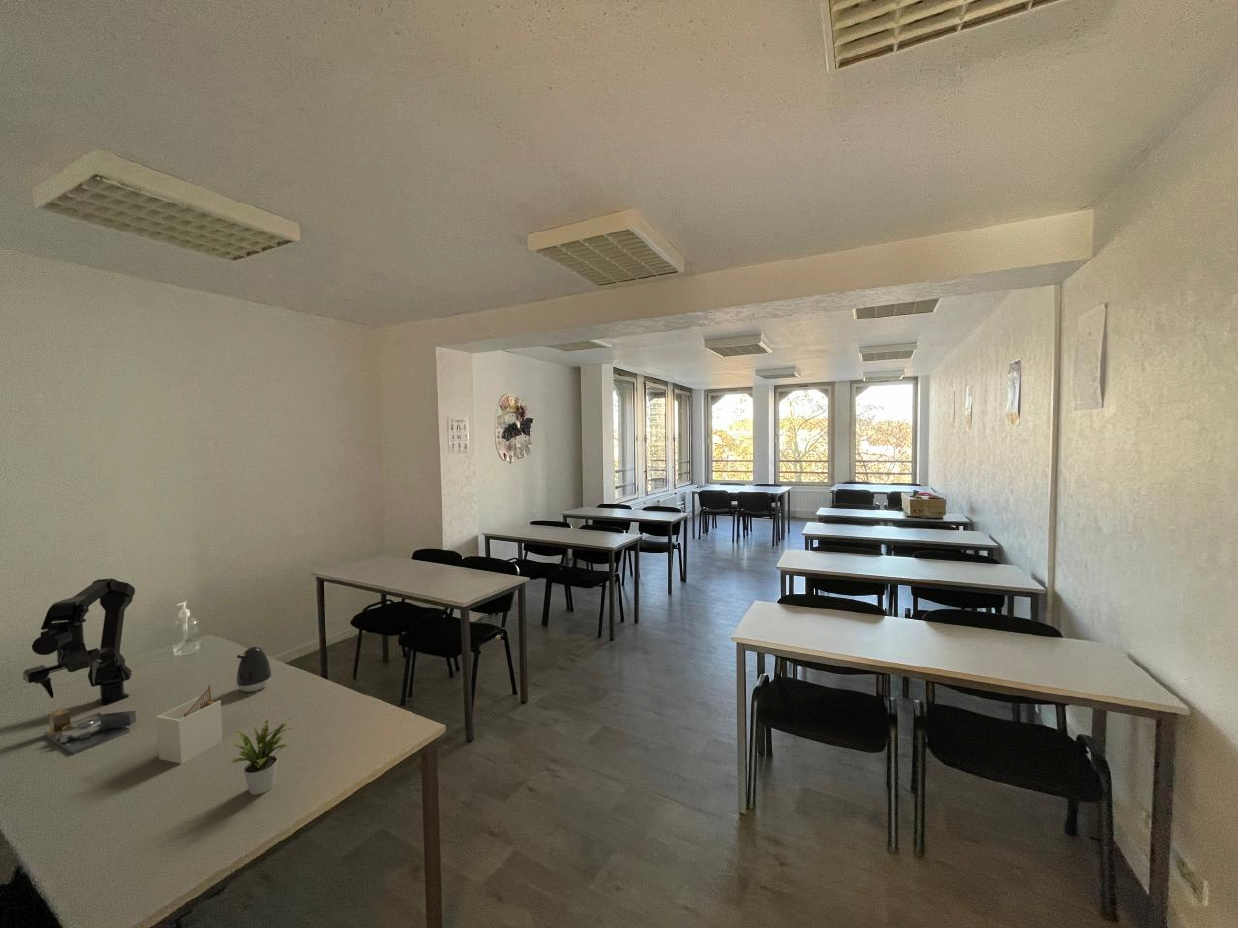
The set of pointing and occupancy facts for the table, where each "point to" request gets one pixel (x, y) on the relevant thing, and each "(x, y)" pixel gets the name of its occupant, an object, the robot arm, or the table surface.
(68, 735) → the sprocket
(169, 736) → the white planter box
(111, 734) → the base plate
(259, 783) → the house plant
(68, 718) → the striped gift box
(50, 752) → the table surface
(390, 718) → the table surface
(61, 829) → the table surface
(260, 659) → the pump dispenser
